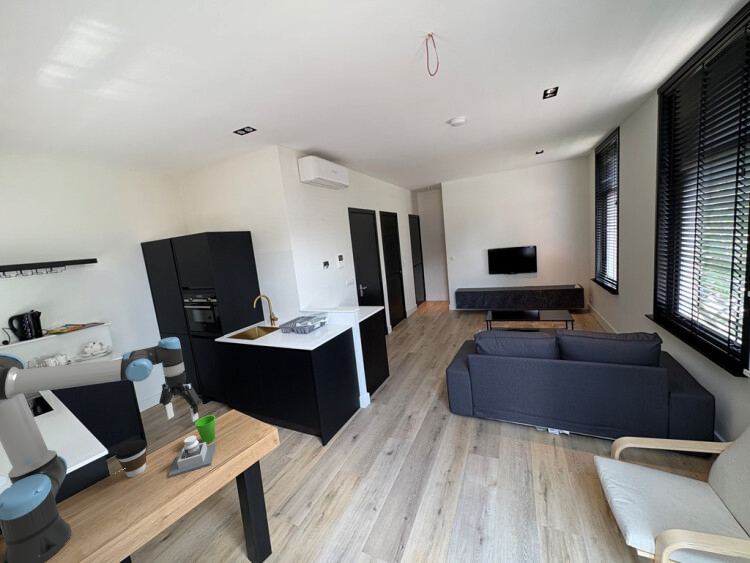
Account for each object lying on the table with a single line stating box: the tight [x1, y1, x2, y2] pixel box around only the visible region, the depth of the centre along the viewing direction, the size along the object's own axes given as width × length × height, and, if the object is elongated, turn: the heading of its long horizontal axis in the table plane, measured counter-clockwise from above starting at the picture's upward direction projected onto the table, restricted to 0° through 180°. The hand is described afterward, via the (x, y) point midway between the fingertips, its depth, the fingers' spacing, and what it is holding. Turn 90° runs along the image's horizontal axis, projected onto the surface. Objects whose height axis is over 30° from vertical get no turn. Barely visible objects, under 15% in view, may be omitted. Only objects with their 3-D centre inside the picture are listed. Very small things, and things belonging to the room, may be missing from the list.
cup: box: [194, 414, 217, 444], centre depth 148 cm, size 9×9×11 cm
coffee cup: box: [114, 439, 148, 478], centre depth 131 cm, size 11×11×12 cm
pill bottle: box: [183, 435, 200, 458], centre depth 134 cm, size 6×6×10 cm
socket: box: [168, 442, 217, 478], centre depth 135 cm, size 16×14×4 cm
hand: (183, 418), depth 132 cm, fingers open, 13 cm apart
